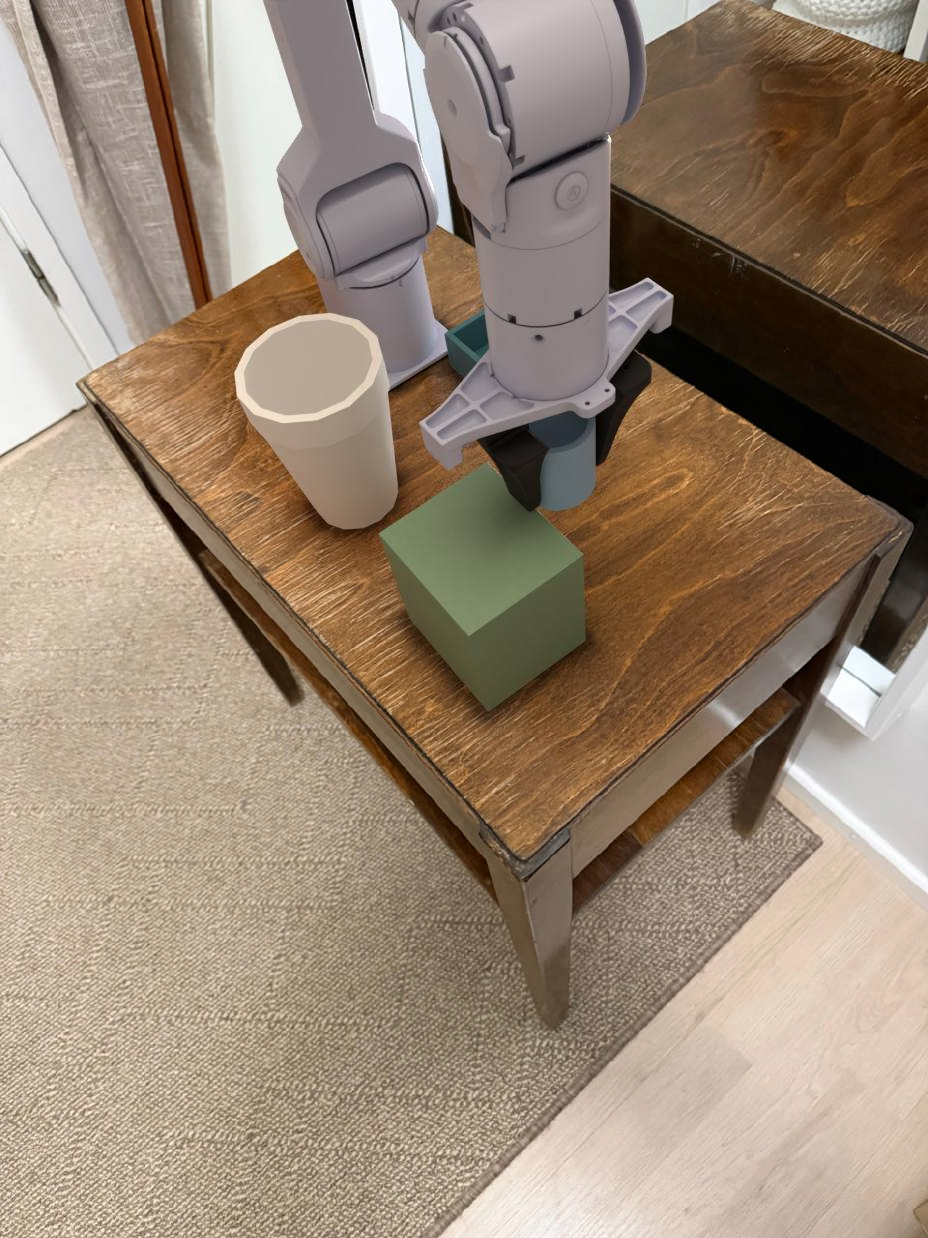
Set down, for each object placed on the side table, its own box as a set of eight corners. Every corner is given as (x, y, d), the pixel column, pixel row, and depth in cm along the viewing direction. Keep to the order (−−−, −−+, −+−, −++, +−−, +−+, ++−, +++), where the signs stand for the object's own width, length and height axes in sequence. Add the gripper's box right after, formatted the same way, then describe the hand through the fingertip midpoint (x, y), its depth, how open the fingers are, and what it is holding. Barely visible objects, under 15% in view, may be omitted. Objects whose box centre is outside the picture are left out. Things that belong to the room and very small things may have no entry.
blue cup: (505, 478, 52) (496, 419, 48) (563, 440, 53) (560, 378, 49) (551, 523, 50) (547, 466, 46) (611, 483, 51) (612, 422, 47)
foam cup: (354, 429, 69) (307, 294, 58) (443, 479, 66) (412, 346, 54) (270, 510, 66) (204, 384, 55) (359, 568, 62) (307, 446, 51)
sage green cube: (409, 618, 60) (377, 533, 51) (502, 554, 61) (486, 461, 53) (488, 712, 56) (468, 636, 47) (586, 640, 57) (584, 554, 49)
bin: (450, 366, 71) (443, 333, 68) (527, 317, 73) (524, 283, 70) (526, 434, 67) (522, 403, 64) (607, 381, 68) (607, 348, 65)
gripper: (467, 415, 36) (499, 590, 48) (729, 247, 39) (699, 450, 51) (375, 328, 39) (426, 511, 51) (622, 180, 42) (617, 385, 54)
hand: (556, 476), depth 51 cm, fingers closed on blue cup, 4 cm apart
